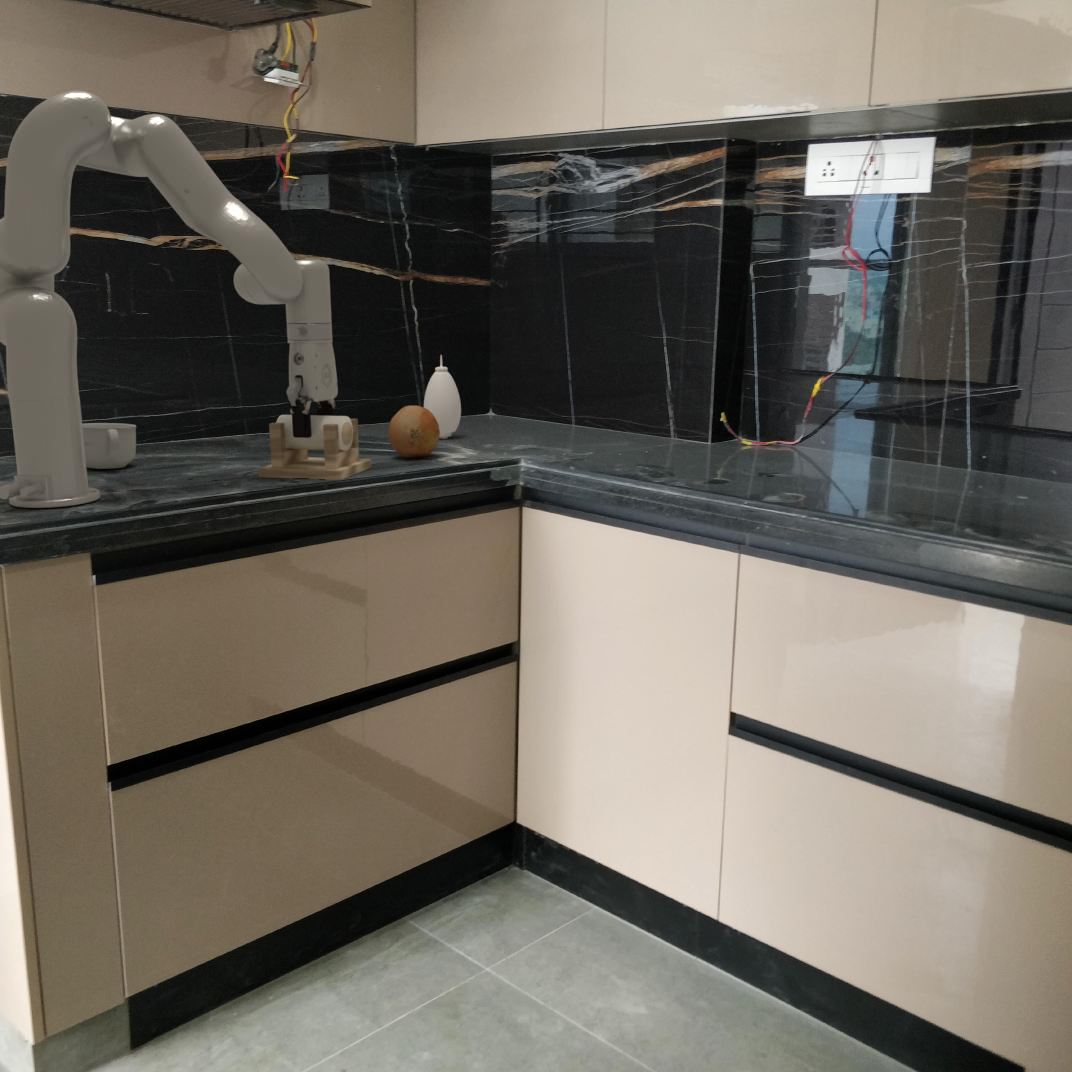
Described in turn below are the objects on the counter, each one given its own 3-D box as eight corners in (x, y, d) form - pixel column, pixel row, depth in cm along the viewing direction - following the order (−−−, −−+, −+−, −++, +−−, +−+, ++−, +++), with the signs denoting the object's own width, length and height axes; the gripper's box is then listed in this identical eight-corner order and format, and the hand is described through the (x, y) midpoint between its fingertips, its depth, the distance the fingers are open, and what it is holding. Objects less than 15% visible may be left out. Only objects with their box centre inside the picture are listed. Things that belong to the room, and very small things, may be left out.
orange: (396, 463, 198) (394, 409, 196) (383, 456, 207) (381, 404, 205) (446, 460, 201) (445, 407, 199) (431, 453, 210) (430, 402, 208)
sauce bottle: (417, 438, 232) (415, 354, 228) (443, 435, 238) (441, 353, 234) (442, 441, 227) (440, 356, 223) (468, 437, 233) (466, 354, 229)
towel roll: (341, 452, 182) (339, 417, 181) (274, 450, 185) (272, 416, 184) (354, 448, 188) (353, 414, 187) (290, 446, 191) (288, 413, 190)
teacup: (76, 465, 197) (72, 421, 195) (138, 461, 201) (135, 419, 199) (74, 476, 185) (70, 430, 183) (141, 472, 188) (137, 427, 187)
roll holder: (339, 480, 179) (337, 426, 177) (258, 477, 183) (255, 424, 181) (371, 467, 192) (369, 417, 191) (295, 464, 196) (292, 415, 194)
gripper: (307, 336, 173) (313, 440, 177) (350, 332, 190) (354, 428, 193) (265, 335, 175) (271, 439, 179) (311, 332, 191) (316, 427, 195)
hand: (314, 433), depth 186 cm, fingers open, 9 cm apart
